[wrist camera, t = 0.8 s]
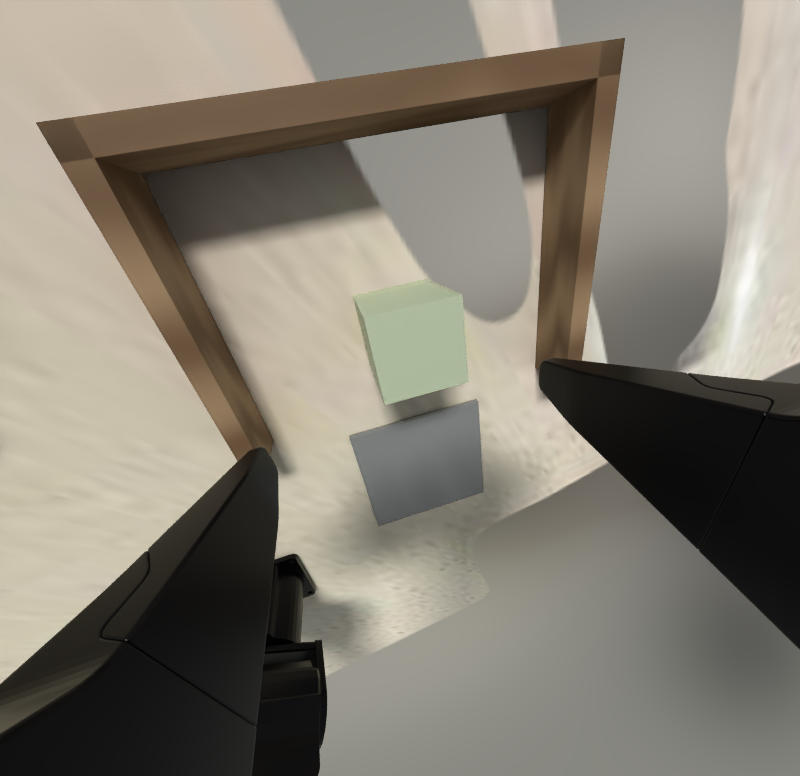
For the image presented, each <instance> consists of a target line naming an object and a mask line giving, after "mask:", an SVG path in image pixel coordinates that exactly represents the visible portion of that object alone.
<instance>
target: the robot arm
mask: <svg viewBox="0 0 800 776" xmlns="http://www.w3.org/2000/svg"><path fill="white" fill-rule="evenodd" d="M539 385H540V388H541V390H542V391H543V393H544V394H545V395H546V396H547V397H548V399H549V400H550V401H551V402H552V404H553V405H554V406H555V407H556V408H557V410H558V411H559V412H560V413H561V414H562V416H563V417H564V418H565V419H566V420H567V421H568V423H569V424H570V425H571V426H572V427H573V428H574V429H575V430H576V431H577V432H578V433H579V434H580V435H581V436H582V437H583V438H584V439H585V440H586V441H587V442H588V443H589V444H590V445H591V446H593V447H594V448H595V449H596V450H597V451H598V452H599V453H600V454H601V455H602V456H603V457H604V458H605V459H606V460H607V461H608V462H609V463H610V464H611V465H612V466H613V467H614V468H615V469H616V470H617V471H618V472H619V473H620V474H621V475H622V476H623V477H624V478H625V479H626V480H627V481H628V482H629V483H630V484H631V485H632V486H633V487H634V488H635V489H636V490H638V492H639V493H641V494H642V495H643V496H644V497H645V498H646V499H647V500H648V501H649V502H650V503H651V504H652V505H653V506H654V507H655V508H656V509H657V510H658V511H659V512H660V513H661V514H662V515H663V516H664V517H665V518H666V519H667V520H668V521H669V522H670V523H671V524H672V525H673V526H674V527H675V528H676V529H677V530H678V531H679V532H680V533H681V534H682V535H683V536H684V537H685V538H687V540H689V541H690V542H691V543H692V544H693V545H694V546H695V547H696V548H697V549H699V551H700V553H701V554H703V555H704V556H705V557H706V558H707V559H708V560H709V561H710V562H711V563H712V564H713V565H714V566H715V567H716V568H717V569H718V570H719V571H720V572H721V573H722V574H723V575H724V576H725V577H726V578H727V579H728V580H729V581H730V582H731V583H732V584H733V585H734V586H735V587H736V588H737V589H738V590H739V591H740V592H741V593H742V594H743V595H744V596H745V597H746V598H747V599H749V601H750V602H752V604H754V605H755V606H756V607H757V608H758V609H759V610H760V611H761V612H762V613H763V614H764V615H765V616H766V617H767V618H768V619H769V620H770V621H771V622H772V623H773V624H774V625H775V626H776V627H777V628H778V629H779V630H780V631H781V632H782V633H783V634H784V635H785V636H786V637H787V638H789V640H790V641H791V642H792V643H793V644H794V645H795V646H796V647H797V648H798V649H799V650H800V384H798V383H784V382H773V381H761V380H750V379H739V378H729V377H719V376H710V375H701V374H692V373H689V374H687V373H683V372H675V371H665V370H657V369H647V368H640V367H631V366H623V365H614V364H605V363H597V362H588V361H579V360H571V359H562V358H550V359H547V360H544V361H542V362H541V363H540V370H539ZM278 519H279V505H278V470H277V467H276V465H275V463H274V461H273V460H272V458H271V456H270V454H269V453H268V451H267V449H266V448H265V447H259V448H255V449H252V450H250V451H248V452H247V453H246V454H245V455H244V456H243V457H242V458H241V459H240V460H239V461H238V462H237V463H236V464H235V465H234V466H233V467H232V468H231V469H230V470H229V471H228V472H227V473H226V474H224V475H223V476H222V477H221V478H220V479H219V480H218V481H217V482H216V483H215V484H214V485H213V486H212V487H211V488H210V489H209V490H208V491H207V492H206V493H205V494H204V495H203V496H202V497H201V498H200V499H199V500H198V501H197V502H196V503H195V504H194V505H193V506H192V507H191V508H190V509H189V510H188V511H187V512H186V513H185V514H183V515H182V516H181V517H180V518H179V519H178V520H177V521H176V522H175V523H174V524H173V525H172V526H171V527H170V528H169V529H168V530H167V531H166V532H165V533H164V534H163V535H162V536H161V537H160V538H159V539H158V540H157V541H156V542H155V543H154V544H153V545H152V546H151V547H150V548H149V549H148V551H146V552H144V553H143V554H142V555H141V556H140V557H139V558H138V559H137V560H136V561H135V562H134V563H133V564H132V565H131V566H130V567H129V568H128V569H127V570H126V571H125V572H124V573H123V574H122V575H121V576H120V577H118V578H117V579H116V580H115V581H114V582H113V583H112V584H111V585H110V586H109V587H108V588H107V589H106V590H105V591H104V592H103V593H101V594H100V595H99V596H98V597H97V598H96V599H95V600H94V601H93V602H92V603H90V604H89V605H88V606H87V607H86V608H85V609H84V610H83V611H82V612H81V613H79V614H78V615H77V616H76V617H75V618H74V619H73V620H72V621H70V622H69V623H68V624H67V625H66V626H65V627H64V628H63V629H62V630H60V631H59V632H58V633H57V634H56V635H55V636H54V637H53V638H51V639H50V640H49V641H48V642H47V643H46V644H45V645H44V646H42V647H41V648H40V649H39V650H38V651H37V652H36V653H35V654H34V655H32V656H31V657H30V658H29V659H28V660H27V661H26V662H25V663H23V664H22V665H21V666H20V667H19V668H18V669H17V670H16V671H15V672H13V673H12V674H11V675H10V676H9V677H8V678H7V679H6V680H4V681H3V682H2V683H1V684H0V776H318V773H319V769H320V756H319V755H320V754H319V749H320V748H321V745H322V742H323V738H324V733H325V726H326V717H327V689H326V678H325V668H324V658H323V649H322V640H315V642H301V626H302V608H303V598H304V597H307V596H310V595H313V594H314V593H315V586H314V584H313V583H312V581H311V579H310V577H309V576H308V574H307V572H306V571H305V569H304V567H303V566H302V564H301V562H300V560H299V559H298V557H297V556H296V555H288V556H285V557H282V558H279V559H276V560H274V559H275V549H276V540H277V531H278Z"/></svg>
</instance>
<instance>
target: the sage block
mask: <svg viewBox="0 0 800 776" xmlns="http://www.w3.org/2000/svg"><path fill="white" fill-rule="evenodd" d="M353 299H354V303H355V307H356V311H357V315H358V319H359V323H360V327H361V331H362V335H363V339H364V343H365V347H366V351H367V355H368V359H369V363H370V366H371V369H372V372H373V374H374V377H375V380H376V382H377V385H378V388H379V391H380V393H381V396H382V399H383V402H384V404H385V405H388V404H391V403H395V402H399V401H402V400H406V399H409V398H413V397H417V396H420V395H424V394H427V393H431V392H435V391H438V390H442V389H445V388H449V387H453V386H456V385H460V384H463V383H467V382H469V381H468V367H467V353H466V340H465V326H464V312H463V299H462V294H460V293H458V292H455V291H453V290H450V289H448V288H446V287H443V286H441V285H439V284H436V283H434V282H432V281H429V280H427V279H424V280H420V281H416V282H411V283H407V284H403V285H398V286H394V287H390V288H385V289H381V290H377V291H372V292H368V293H364V294H359V295H355V296H353Z"/></svg>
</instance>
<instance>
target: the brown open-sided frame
mask: <svg viewBox="0 0 800 776" xmlns="http://www.w3.org/2000/svg"><path fill="white" fill-rule="evenodd" d="M624 41H625V38H622V39H615V40H608V41H600V42H593V43H587V44H581V45H573V46H566V47H559V48H552V49H545V50H538V51H531V52H524V53H517V54H510V55H503V56H496V57H489V58H482V59H475V60H469V61H461V62H455V63H447V64H442V65H434V66H427V67H421V68H413V69H406V70H399V71H393V72H385V73H378V74H371V75H365V76H357V77H350V78H343V79H336V80H329V81H322V82H315V83H308V84H301V85H295V86H288V87H281V88H274V89H267V90H260V91H253V92H246V93H239V94H232V95H225V96H218V97H211V98H204V99H197V100H190V101H183V102H176V103H169V104H162V105H155V106H149V107H142V108H135V109H128V110H121V111H114V112H107V113H100V114H93V115H86V116H79V117H72V118H65V119H58V120H51V121H44V122H37V123H36V124H37V125H38V127H39V129H40V130H41V132H42V134H43V136H44V137H45V139H46V141H47V142H48V144H49V146H50V147H51V149H52V151H53V152H54V154H55V156H56V157H57V159H58V161H59V162H60V164H61V166H62V167H63V169H64V171H65V172H66V174H67V176H68V177H69V179H70V181H71V182H72V184H73V186H74V188H75V189H76V191H77V193H78V194H79V196H80V198H81V199H82V201H83V203H84V204H85V206H86V208H87V209H88V211H89V213H90V214H91V216H92V218H93V219H94V221H95V223H96V224H97V226H98V228H99V229H100V231H101V233H102V234H103V236H104V238H105V240H106V241H107V243H108V245H109V246H110V248H111V250H112V251H113V253H114V255H115V256H116V258H117V260H118V261H119V263H120V265H121V266H122V268H123V270H124V271H125V273H126V275H127V276H128V278H129V280H130V281H131V283H132V285H133V286H134V288H135V290H136V292H137V293H138V295H139V297H140V298H141V300H142V302H143V303H144V305H145V307H146V308H147V310H148V312H149V313H150V315H151V317H152V318H153V320H154V322H155V323H156V325H157V327H158V328H159V330H160V332H161V333H162V335H163V337H164V338H165V340H166V342H167V344H168V345H169V347H170V349H171V350H172V352H173V354H174V355H175V357H176V359H177V360H178V362H179V364H180V365H181V367H182V369H183V370H184V372H185V374H186V375H187V377H188V379H189V380H190V382H191V384H192V385H193V387H194V389H195V390H196V392H197V394H198V396H199V397H200V399H201V401H202V402H203V404H204V406H205V407H206V409H207V411H208V412H209V414H210V416H211V417H212V419H213V421H214V422H215V424H216V426H217V427H218V429H219V431H220V432H221V434H222V436H223V437H224V439H225V441H226V442H227V444H228V446H229V448H230V449H231V451H232V453H233V454H234V456H235V458H236V459H237V461H239V460H240V459H241V458H242V457H243V456H244V455H245V454H246V453H247V452H248V451H250V450H252V449H255V448H259V447H265V448H266V449H267V451H268V453H269V454H271V449H272V445H273V441H274V440H273V438H272V436H271V434H270V432H269V430H268V428H267V426H266V424H265V422H264V420H263V418H262V416H261V414H260V412H259V410H258V408H257V406H256V404H255V402H254V400H253V398H252V396H251V394H250V392H249V390H248V388H247V386H246V384H245V382H244V380H243V378H242V376H241V374H240V372H239V370H238V367H237V365H236V363H235V361H234V359H233V357H232V355H231V353H230V351H229V349H228V347H227V345H226V343H225V341H224V339H223V337H222V335H221V333H220V331H219V329H218V327H217V325H216V323H215V321H214V319H213V317H212V315H211V313H210V311H209V309H208V307H207V305H206V303H205V301H204V299H203V297H202V295H201V293H200V291H199V289H198V287H197V285H196V283H195V280H194V278H193V276H192V274H191V272H190V270H189V268H188V266H187V264H186V262H185V260H184V258H183V256H182V254H181V252H180V250H179V248H178V246H177V244H176V242H175V240H174V238H173V236H172V234H171V232H170V230H169V228H168V226H167V224H166V222H165V220H164V218H163V216H162V214H161V212H160V210H159V208H158V206H157V204H156V202H155V200H154V198H153V196H152V193H151V191H150V189H149V187H148V185H147V183H146V181H145V179H144V177H143V175H142V174H147V173H153V172H159V171H165V170H171V169H176V168H182V167H188V166H194V165H200V164H206V163H212V162H218V161H224V160H230V159H236V158H242V157H248V156H254V155H260V154H265V153H271V152H277V151H283V150H289V149H295V148H301V147H307V146H313V145H319V144H325V143H331V142H337V141H343V140H349V139H354V138H360V137H366V136H372V135H378V134H383V133H390V132H396V131H402V130H408V129H413V128H420V127H425V126H432V125H437V124H444V123H449V122H455V121H461V120H466V119H473V118H479V117H485V116H491V115H497V114H503V113H509V112H515V111H521V110H527V109H533V108H539V107H545V106H549V112H548V131H547V151H546V170H545V190H544V210H543V229H542V249H541V269H540V288H539V308H538V328H537V347H536V368H538V369H539V370H540V363H541V362H542V361H544V360H547V359H550V358H562V359H571V360H579V361H582V355H583V348H584V340H585V333H586V325H587V318H588V310H589V303H590V295H591V288H592V279H593V273H594V266H595V258H596V251H597V243H598V235H599V227H600V221H601V212H602V206H603V198H604V190H605V183H606V176H607V168H608V161H609V153H610V145H611V138H612V131H613V123H614V115H615V108H616V101H617V94H618V86H619V78H620V71H621V64H622V56H623V49H624Z"/></svg>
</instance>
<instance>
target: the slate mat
mask: <svg viewBox="0 0 800 776" xmlns="http://www.w3.org/2000/svg"><path fill="white" fill-rule="evenodd" d="M350 441H351V444H352V447H353V450H354V453H355V456H356V459H357V462H358V465H359V468H360V471H361V474H362V477H363V480H364V483H365V486H366V489H367V492H368V495H369V498H370V501H371V504H372V507H373V510H374V513H375V516H376V519H377V522H378V525H379V526H381V525H384V524H387V523H390V522H393V521H396V520H399V519H402V518H405V517H408V516H411V515H414V514H417V513H420V512H423V511H427V510H430V509H433V508H436V507H439V506H442V505H445V504H448V503H451V502H454V501H457V500H460V499H463V498H466V497H469V496H472V495H476V494H479V493H482V492H483V476H482V459H481V442H480V424H479V407H478V401H477V400H472V401H469V402H465V403H462V404H458V405H455V406H451V407H448V408H444V409H441V410H437V411H434V412H430V413H427V414H423V415H420V416H416V417H413V418H409V419H406V420H402V421H399V422H395V423H392V424H388V425H385V426H381V427H378V428H374V429H371V430H367V431H364V432H360V433H357V434H353V435H350Z"/></svg>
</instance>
